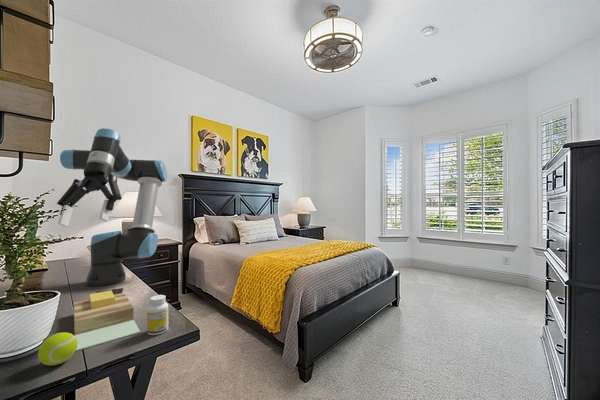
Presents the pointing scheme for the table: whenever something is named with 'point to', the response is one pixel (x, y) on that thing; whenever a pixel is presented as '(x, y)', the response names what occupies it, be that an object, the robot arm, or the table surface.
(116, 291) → the chocolate bar
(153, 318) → the supplement bottle
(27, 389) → the table surface
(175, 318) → the table surface
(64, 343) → the tennis ball
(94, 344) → the mat
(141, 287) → the table surface
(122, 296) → the deck
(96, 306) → the yellow sticky note pad
